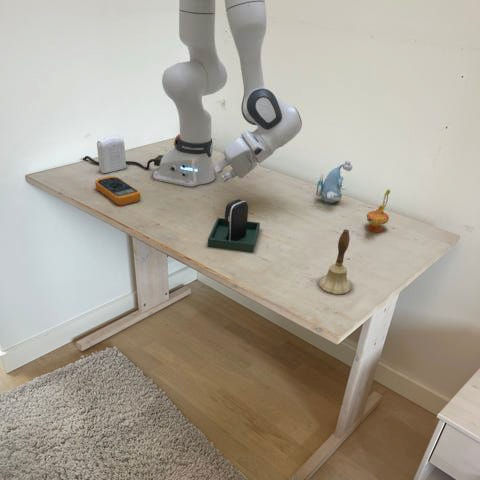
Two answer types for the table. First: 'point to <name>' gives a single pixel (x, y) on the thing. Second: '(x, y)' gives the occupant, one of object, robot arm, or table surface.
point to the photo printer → (111, 154)
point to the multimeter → (117, 190)
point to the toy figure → (332, 184)
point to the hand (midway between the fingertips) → (219, 175)
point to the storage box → (242, 244)
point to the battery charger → (236, 219)
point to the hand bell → (338, 270)
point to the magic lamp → (378, 217)
